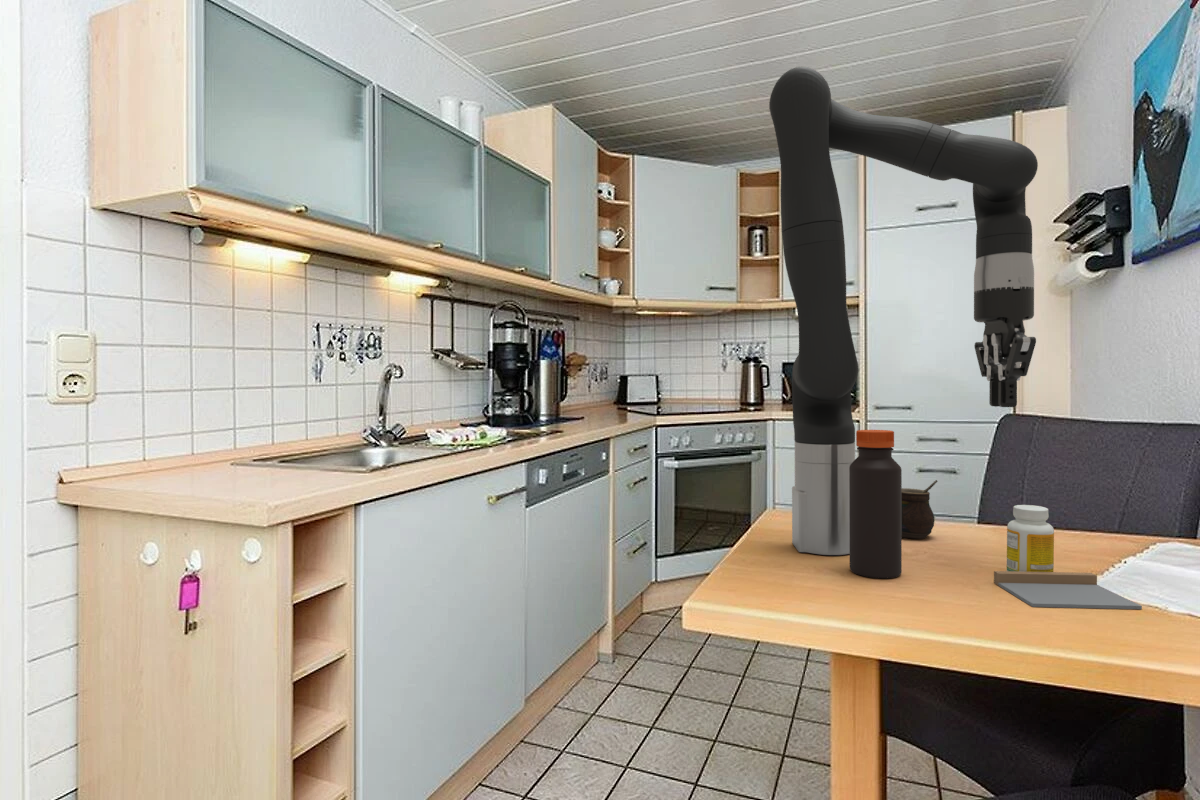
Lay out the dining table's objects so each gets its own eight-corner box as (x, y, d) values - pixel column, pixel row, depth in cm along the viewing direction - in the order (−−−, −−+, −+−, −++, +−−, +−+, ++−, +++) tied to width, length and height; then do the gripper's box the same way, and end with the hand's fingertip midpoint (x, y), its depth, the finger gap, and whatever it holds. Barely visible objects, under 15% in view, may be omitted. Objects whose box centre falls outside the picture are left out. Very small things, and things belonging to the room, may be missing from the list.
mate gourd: (883, 531, 119) (883, 475, 119) (927, 532, 118) (928, 476, 118) (895, 540, 112) (896, 481, 111) (942, 542, 111) (943, 482, 110)
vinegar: (861, 563, 98) (861, 428, 98) (909, 572, 93) (909, 430, 93) (841, 572, 93) (840, 431, 93) (889, 582, 88) (889, 433, 88)
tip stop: (1032, 606, 78) (1032, 593, 78) (993, 582, 88) (993, 570, 88) (1141, 609, 77) (1141, 595, 77) (1091, 584, 86) (1091, 572, 86)
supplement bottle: (1000, 576, 90) (1000, 507, 90) (1015, 569, 94) (1015, 502, 94) (1045, 586, 86) (1046, 512, 86) (1059, 578, 90) (1060, 507, 89)
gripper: (956, 295, 104) (955, 405, 104) (999, 281, 90) (999, 408, 90) (1006, 293, 103) (1006, 404, 103) (1058, 280, 89) (1057, 408, 90)
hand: (1003, 406), depth 97 cm, fingers closed
